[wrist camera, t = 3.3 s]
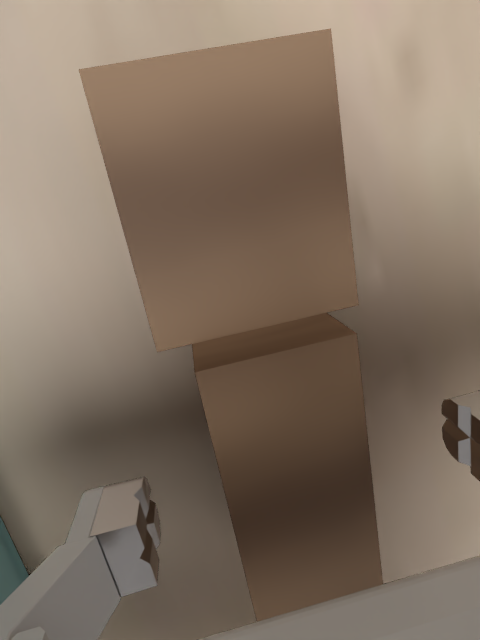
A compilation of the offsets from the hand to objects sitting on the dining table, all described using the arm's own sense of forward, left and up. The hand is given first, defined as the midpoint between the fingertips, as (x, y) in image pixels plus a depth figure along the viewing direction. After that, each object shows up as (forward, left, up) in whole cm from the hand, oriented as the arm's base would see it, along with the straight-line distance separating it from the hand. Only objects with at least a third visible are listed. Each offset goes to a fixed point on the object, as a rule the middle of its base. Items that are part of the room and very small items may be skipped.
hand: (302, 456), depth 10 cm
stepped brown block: (+1, 0, -5) cm, 5 cm away
